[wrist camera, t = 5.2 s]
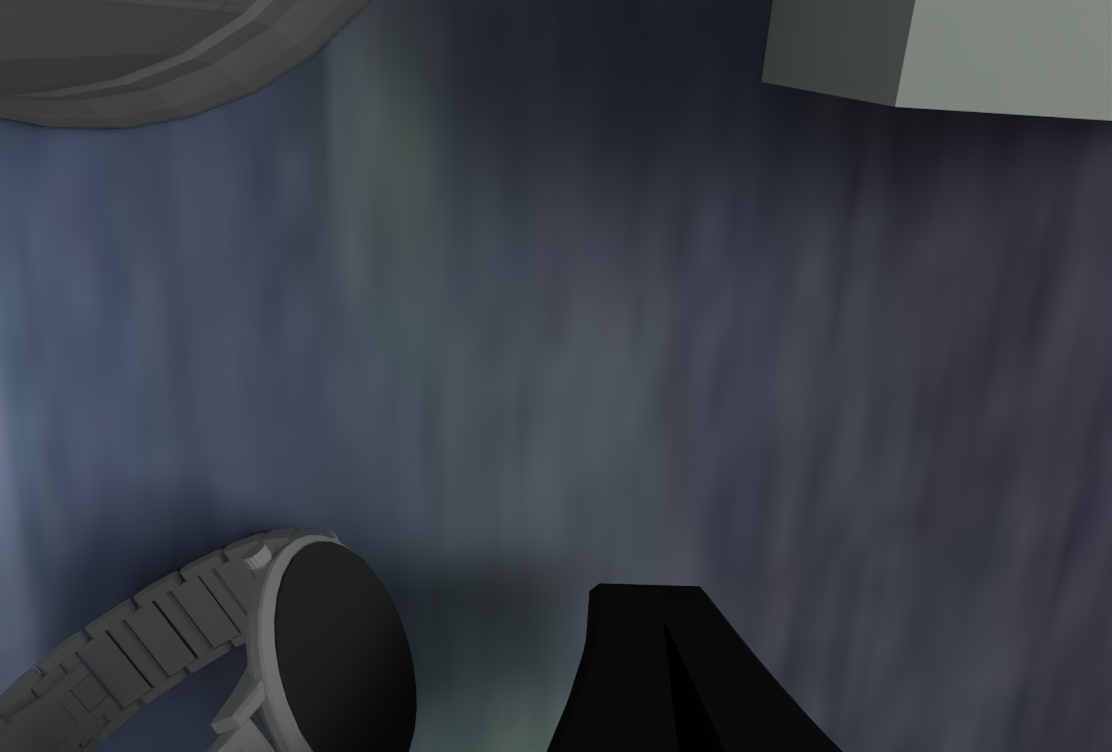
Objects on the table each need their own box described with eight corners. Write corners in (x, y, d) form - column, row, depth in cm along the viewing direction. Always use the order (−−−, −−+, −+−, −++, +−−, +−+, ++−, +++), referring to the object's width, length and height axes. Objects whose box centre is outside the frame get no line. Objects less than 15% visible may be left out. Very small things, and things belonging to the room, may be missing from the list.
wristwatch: (449, 598, 12) (391, 957, 7) (142, 725, 13) (-88, 1127, 8) (341, 425, 11) (196, 713, 6) (15, 573, 12) (-331, 928, 7)
